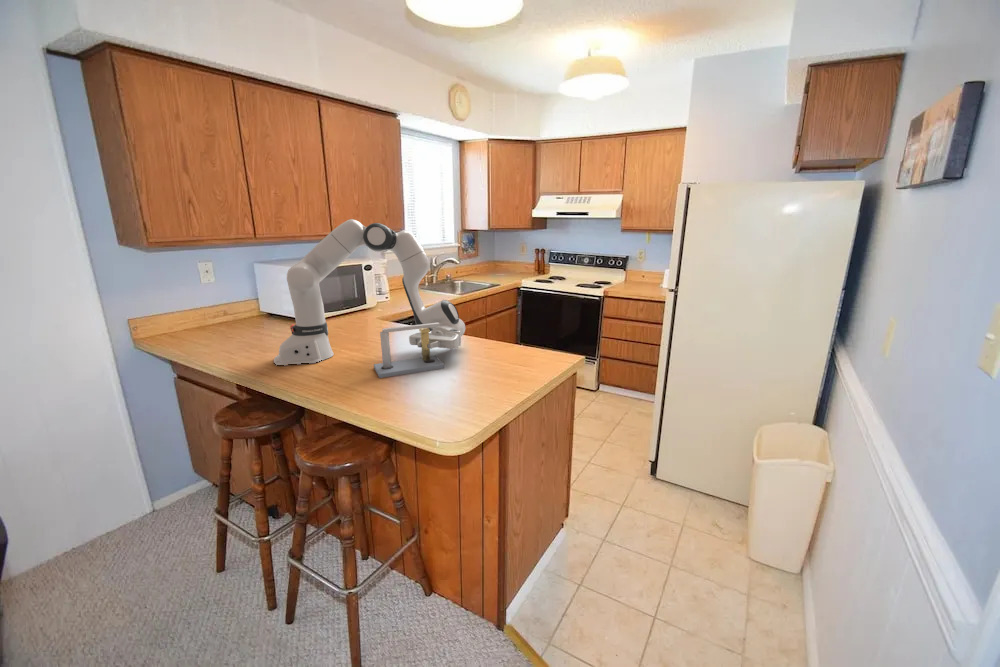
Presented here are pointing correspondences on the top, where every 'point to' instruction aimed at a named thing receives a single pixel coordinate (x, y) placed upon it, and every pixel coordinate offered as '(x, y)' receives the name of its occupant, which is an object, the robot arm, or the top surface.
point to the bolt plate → (404, 365)
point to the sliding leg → (425, 343)
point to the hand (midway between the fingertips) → (424, 346)
